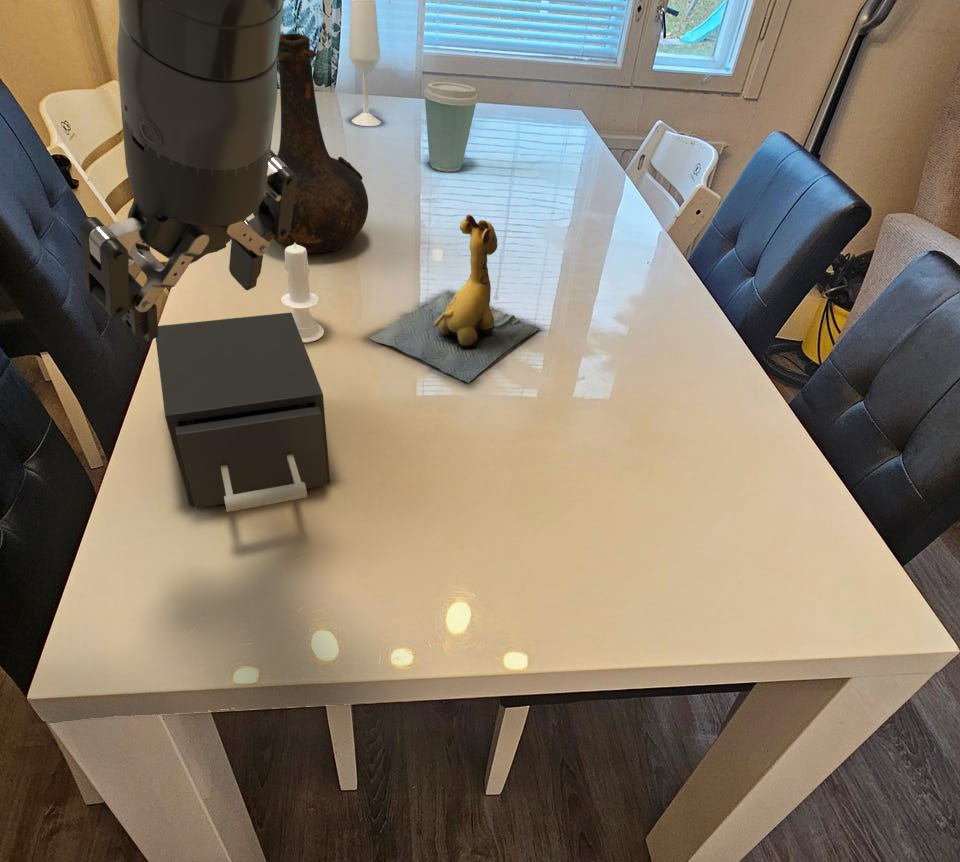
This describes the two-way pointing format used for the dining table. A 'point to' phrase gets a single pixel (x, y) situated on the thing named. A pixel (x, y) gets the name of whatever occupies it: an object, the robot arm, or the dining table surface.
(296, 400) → the dark gray cabinet
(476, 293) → the stuffed giraffe
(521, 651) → the dining table surface
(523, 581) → the dining table surface
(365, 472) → the dining table surface
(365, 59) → the champagne flute
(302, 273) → the candle
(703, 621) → the dining table surface
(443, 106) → the disposable coffee cup
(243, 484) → the drawer
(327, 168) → the glass bottle
